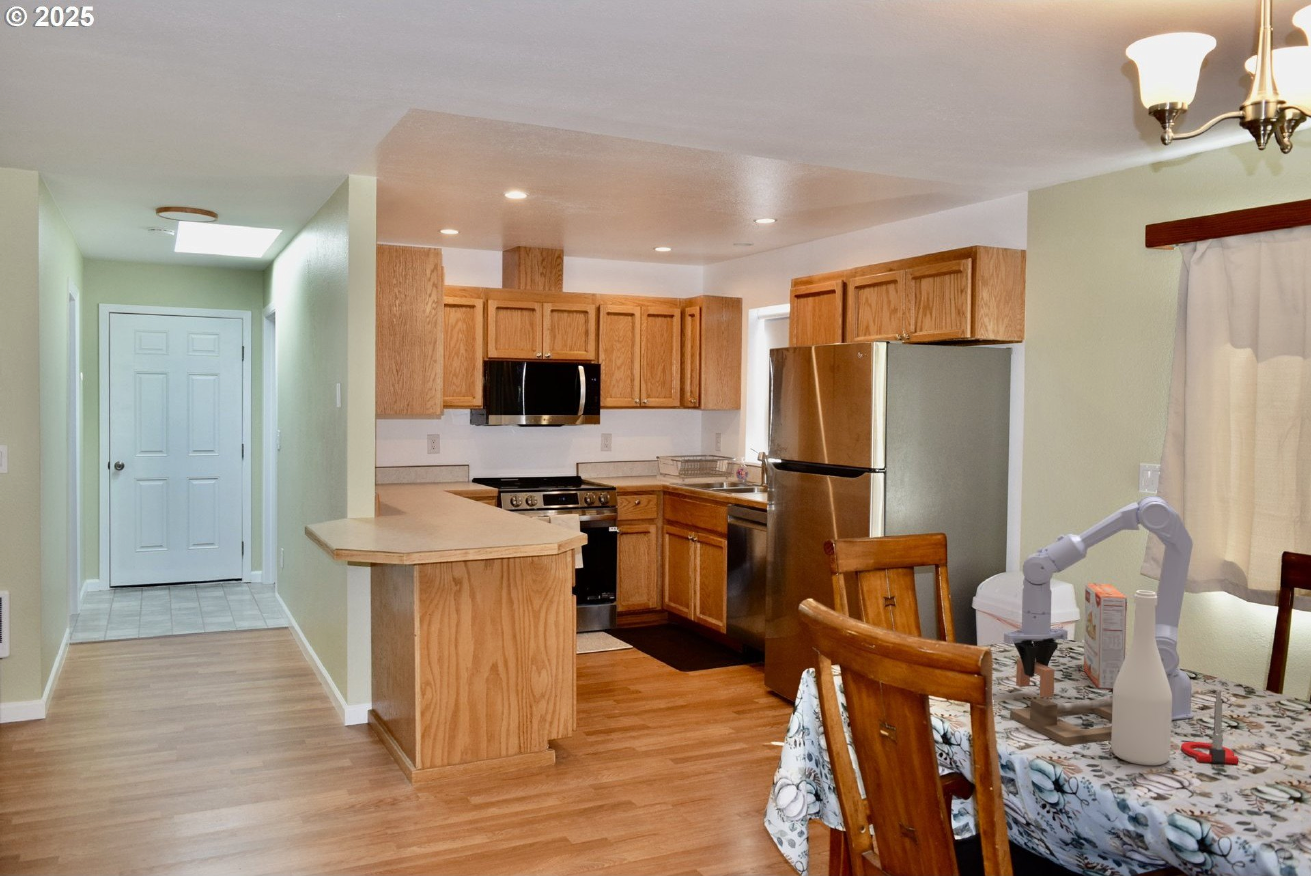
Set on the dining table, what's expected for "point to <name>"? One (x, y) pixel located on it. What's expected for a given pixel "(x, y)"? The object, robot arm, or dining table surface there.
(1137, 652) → the wine bottle
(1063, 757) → the dining table surface
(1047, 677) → the wooden arch block
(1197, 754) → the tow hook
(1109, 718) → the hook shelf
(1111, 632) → the cracker box
